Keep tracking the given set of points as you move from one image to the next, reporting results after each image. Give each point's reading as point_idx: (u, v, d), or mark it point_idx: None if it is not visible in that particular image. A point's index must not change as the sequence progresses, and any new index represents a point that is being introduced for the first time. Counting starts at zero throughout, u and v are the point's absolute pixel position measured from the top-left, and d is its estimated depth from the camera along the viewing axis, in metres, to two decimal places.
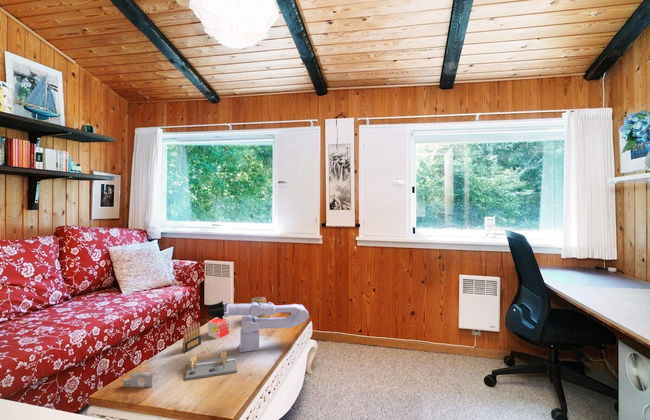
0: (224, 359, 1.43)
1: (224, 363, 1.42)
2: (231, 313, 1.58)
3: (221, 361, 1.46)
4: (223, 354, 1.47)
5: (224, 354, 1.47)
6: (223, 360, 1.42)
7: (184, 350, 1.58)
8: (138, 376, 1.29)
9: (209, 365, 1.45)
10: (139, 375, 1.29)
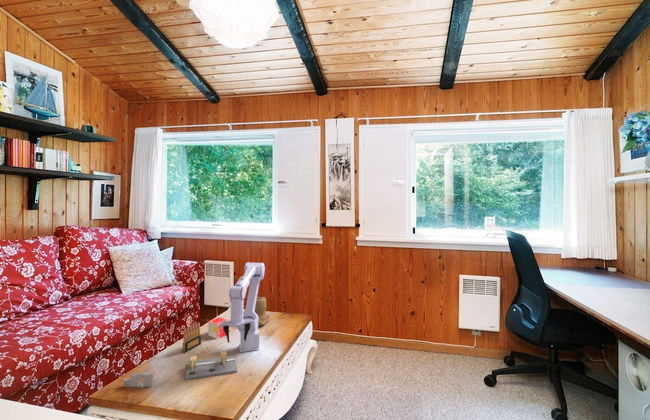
0: (224, 359, 1.43)
1: (224, 363, 1.42)
2: None
3: (221, 361, 1.46)
4: (223, 354, 1.47)
5: (224, 354, 1.47)
6: (223, 360, 1.42)
7: (184, 350, 1.58)
8: (138, 376, 1.29)
9: (209, 365, 1.45)
10: (139, 375, 1.29)
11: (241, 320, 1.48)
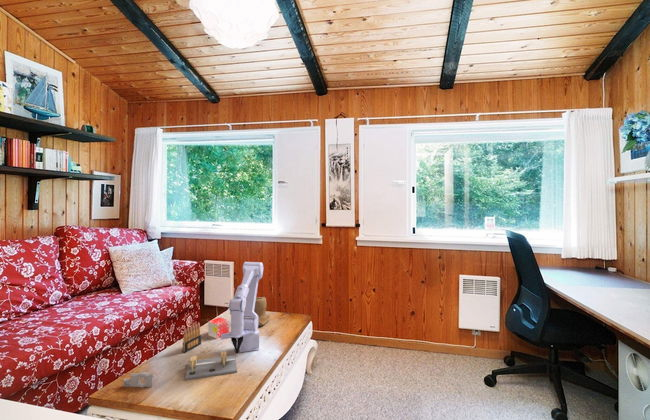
0: (224, 359, 1.43)
1: (224, 363, 1.42)
2: None
3: (221, 361, 1.46)
4: (223, 354, 1.47)
5: (224, 354, 1.47)
6: (223, 360, 1.42)
7: (184, 350, 1.58)
8: (138, 376, 1.29)
9: (209, 365, 1.45)
10: (139, 375, 1.29)
11: (241, 332, 1.48)
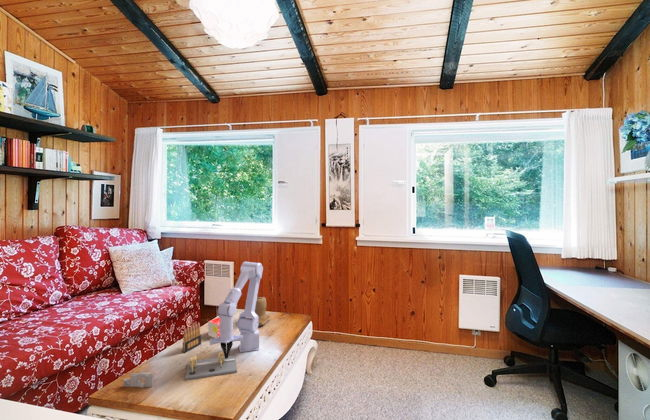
0: (221, 359, 1.42)
1: (221, 363, 1.42)
2: None
3: (218, 361, 1.45)
4: (220, 354, 1.47)
5: (221, 354, 1.47)
6: (220, 360, 1.42)
7: (184, 350, 1.58)
8: (138, 376, 1.29)
9: (209, 365, 1.45)
10: (139, 375, 1.29)
11: (230, 337, 1.47)
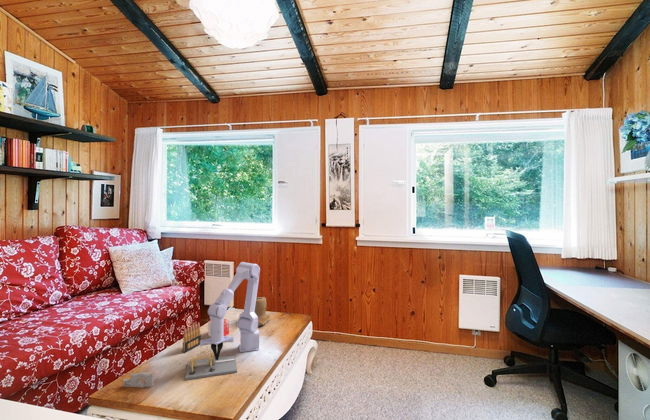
0: (211, 361, 1.41)
1: (211, 365, 1.40)
2: None
3: (208, 363, 1.44)
4: (211, 356, 1.45)
5: (212, 356, 1.45)
6: (210, 362, 1.40)
7: (184, 350, 1.58)
8: (138, 376, 1.29)
9: (209, 365, 1.45)
10: (139, 375, 1.29)
11: (221, 338, 1.45)
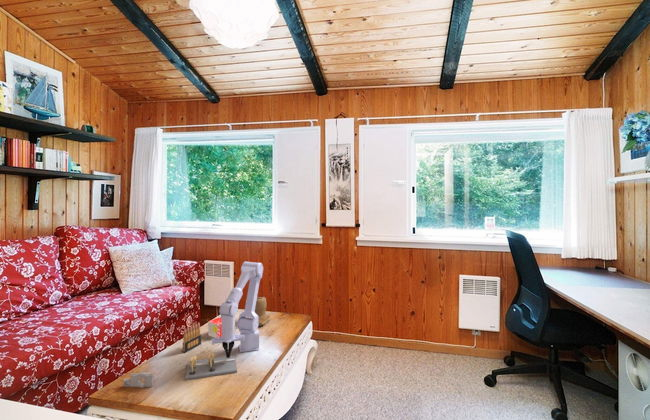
0: (211, 361, 1.41)
1: (211, 365, 1.40)
2: None
3: (208, 363, 1.44)
4: (211, 356, 1.45)
5: (212, 356, 1.45)
6: (210, 362, 1.40)
7: (184, 350, 1.58)
8: (138, 376, 1.29)
9: (209, 365, 1.45)
10: (139, 375, 1.29)
11: (232, 337, 1.47)
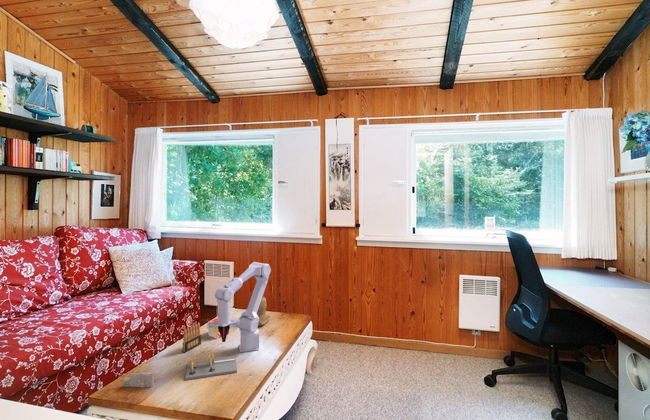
0: (211, 361, 1.41)
1: (211, 365, 1.40)
2: None
3: (208, 363, 1.44)
4: (211, 356, 1.45)
5: (212, 356, 1.45)
6: (210, 362, 1.40)
7: (184, 350, 1.58)
8: (138, 376, 1.29)
9: (209, 365, 1.45)
10: (139, 375, 1.29)
11: (228, 321, 1.49)
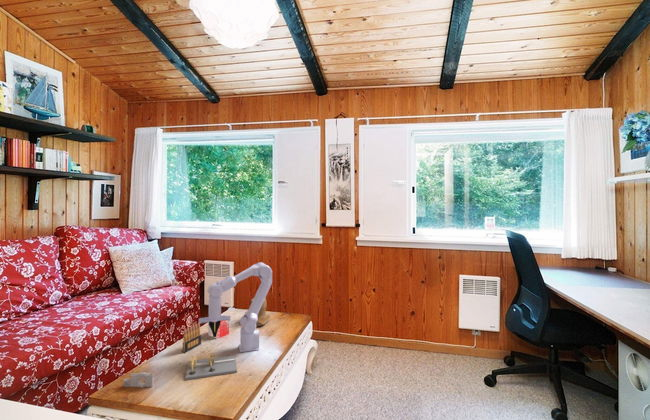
0: (211, 361, 1.41)
1: (211, 365, 1.40)
2: None
3: (208, 363, 1.44)
4: (211, 356, 1.45)
5: (212, 356, 1.45)
6: (210, 362, 1.40)
7: (184, 350, 1.58)
8: (138, 376, 1.29)
9: (209, 365, 1.45)
10: (139, 375, 1.29)
11: (218, 316, 1.54)
